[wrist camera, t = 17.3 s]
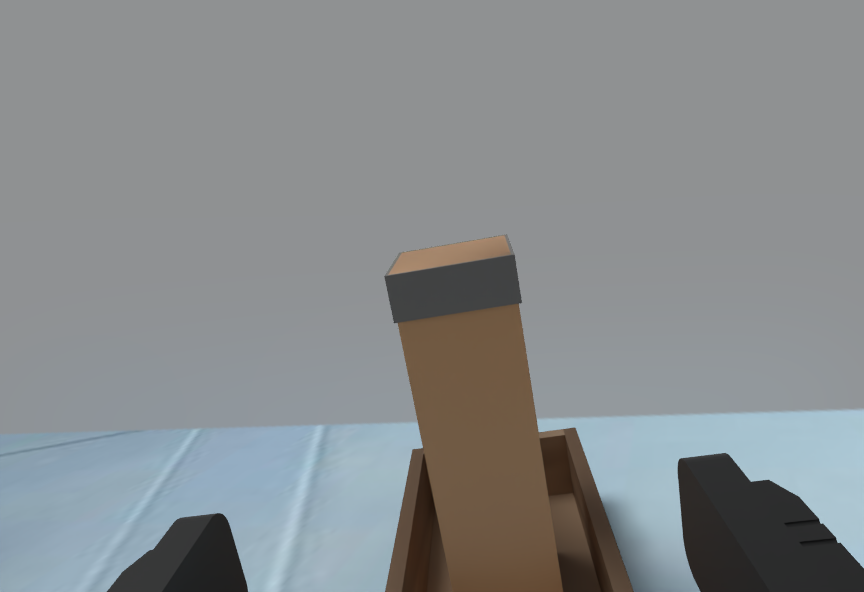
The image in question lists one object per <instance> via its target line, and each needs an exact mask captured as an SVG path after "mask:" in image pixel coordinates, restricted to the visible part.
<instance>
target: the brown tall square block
mask: <svg viewBox="0 0 864 592" xmlns="http://www.w3.org/2000/svg"><path fill="white" fill-rule="evenodd" d="M385 281H386V286H387V291H388V296H389V301H390V305H391V310H392V315H393V320H394V323H398V327H399V332H400V336H401V341H402V346H403V351H404V356H405V361H406V366H407V371H408V376H409V380H410V385H411V390H412V395H413V400H414V405H415V410H416V415H417V420H418V425H419V430H420V435H421V439H422V444H423V449H424V454H425V459H426V464H427V469H428V474H429V479H430V484H431V488H432V493H433V498H434V503H435V508H436V513H437V518H438V523H439V528H440V532H441V537H442V542H443V547H444V552H445V557H446V562H447V567H448V572H449V577H450V581H451V586H452V591H453V592H563V588H562V581H561V575H560V568H559V562H558V555H557V549H556V542H555V536H554V529H553V523H552V516H551V510H550V503H549V497H548V490H547V484H546V478H545V471H544V465H543V458H542V452H541V445H540V439H539V432H538V426H537V419H536V414H535V407H534V401H533V393H532V387H531V380H530V374H529V368H528V361H527V354H526V348H525V342H524V336H523V328H522V323H521V316H520V310H519V303H522V301H521V294H520V288H519V281H518V275H517V268H516V261H515V255H514V252H513V249H512V247H511V244H510V241H509V239H508V236H507V235H501V236H495V237H489V238H484V239H478V240H472V241H466V242H460V243H454V244H448V245H442V246H437V247H431V248H425V249H419V250H413V251H407V252H402V253H399V254H398V256H397V258H396V259H395V260H394V262H393V264H392V265H391V267H390V268H389V270H388V272H387V273H386V275H385Z"/></svg>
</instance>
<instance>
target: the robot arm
mask: <svg viewBox="0 0 864 592" xmlns="http://www.w3.org/2000/svg"><path fill="white" fill-rule="evenodd" d="M678 480H679V492H680V504H681V516H682V528H683V539H684V546H685V551H686V555H687V559H688V563H689V566H690V569H691V572H692V574H693V577H694V579H695V581H696V583H697V585H698V587H699V589H700V591H701V592H864V568H863V567H862V566H861V565H860V564H859V563H858V562H857V561H856V559H855V558H854V557H853V556H852V555H851V554H850V553H849V552H848V551H847V550H846V548H845V547H844V546H843V545H842V544H841V543H837V540H836V537H835V536H834V535H833V534H832V533H831V532H830V531H829V530H828V528H827V527H826V526H825V525H824V524H820V521H819V518H818V517H817V516H816V515H815V514H814V513H813V512H812V511H811V510H810V509H809V507H808V506H807V505H806V504H805V503H804V502H803V501H802V500H801V499H800V497H798V496H796V495H795V494H793V493H791V492H789V491H788V490H786V489H784V488H782V487H780V486H779V485H777V484H775V483H773V482H772V481H770V480H763V481H754V482H750V480H749V479H748V478H747V477H746V475H745V474H744V473H743V472H742V470H741V469H740V468H739V467H738V465H737V464H736V463H735V462H734V460H733V459H732V458H731V457H730V456H729V455H728V454H726V453H722V454H714V455H705V456H697V457H689V458H681V459H679V462H678ZM107 592H248V589H247V584H246V580H245V577H244V573H243V570H242V566H241V563H240V559H239V556H238V553H237V549H236V546H235V542H234V539H233V535H232V532H231V529H230V525H229V523H228V520H227V519H226V517H225V516H224V515H223V514H221V513H217V514H209V515H200V516H192V517H184V518H179V519H177V520H176V521H175V522H174V523H173V525H172V526H171V527H170V528H169V530H168V531H167V532H166V534H165V535H164V536H163V538H162V539H161V540H160V542H159V543H158V544H157V546H156V547H155V548H154V549H153V550H149V551H148V552H147V553H146V554H144V555H143V556H142V557H141V558H139V559H138V560H137V561H136V562H134V563H133V564H132V565H131V566H129V567H128V568H127V569H126V570H124V571H123V572H122V573H121V575H120V576H119V577H118V578H117V580H116V581H115V582H114V584H113V585H112V586H111V587H110V589H109V590H108V591H107Z"/></svg>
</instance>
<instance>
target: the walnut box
mask: <svg viewBox="0 0 864 592" xmlns="http://www.w3.org/2000/svg"><path fill="white" fill-rule="evenodd" d="M539 439H540V445H541V452H542V458H543V465H544V471H545V478H546V484H547V490H548V497H549V503H550V510H551V516H552V523H553V529H554V536H555V542H556V549H557V555H558V562H559V568H560V575H561V581H562V588H563V592H634V591H633V588H632V586H631V583H630V580H629V577H628V574H627V571H626V569H625V566H624V563H623V560H622V557H621V555H620V552H619V549H618V546H617V543H616V541H615V538H614V535H613V532H612V529H611V527H610V524H609V521H608V518H607V515H606V512H605V510H604V507H603V504H602V501H601V498H600V496H599V493H598V490H597V487H596V484H595V482H594V479H593V476H592V473H591V470H590V468H589V465H588V462H587V459H586V456H585V453H584V451H583V448H582V445H581V442H580V439H579V437H578V434H577V431H576V428H568V429H561V430H554V431H546V432H539ZM385 592H453V591H452V586H451V581H450V577H449V572H448V567H447V562H446V557H445V552H444V547H443V542H442V537H441V532H440V528H439V523H438V518H437V513H436V508H435V503H434V498H433V493H432V488H431V484H430V479H429V474H428V469H427V464H426V459H425V454H424V449H423V448H421V449H413V450H412V455H411V461H410V466H409V471H408V476H407V481H406V487H405V492H404V497H403V502H402V507H401V512H400V518H399V523H398V528H397V533H396V538H395V544H394V549H393V554H392V559H391V564H390V569H389V575H388V580H387V585H386V590H385Z"/></svg>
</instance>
